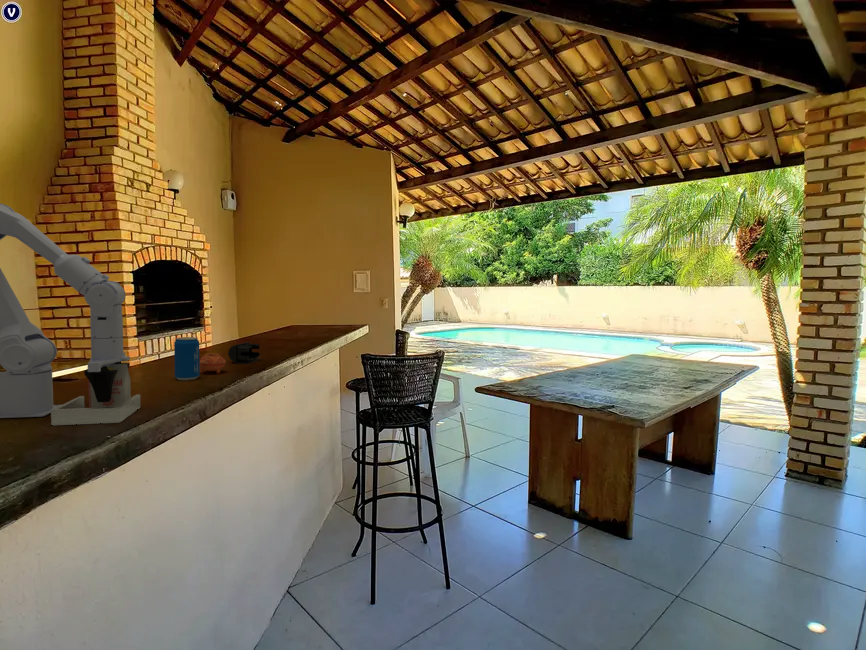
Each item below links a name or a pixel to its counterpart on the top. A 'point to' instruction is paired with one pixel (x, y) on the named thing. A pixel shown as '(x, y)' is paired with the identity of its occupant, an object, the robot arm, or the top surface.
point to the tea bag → (114, 388)
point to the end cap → (244, 353)
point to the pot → (212, 362)
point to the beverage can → (186, 358)
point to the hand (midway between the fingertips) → (108, 398)
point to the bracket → (92, 412)
